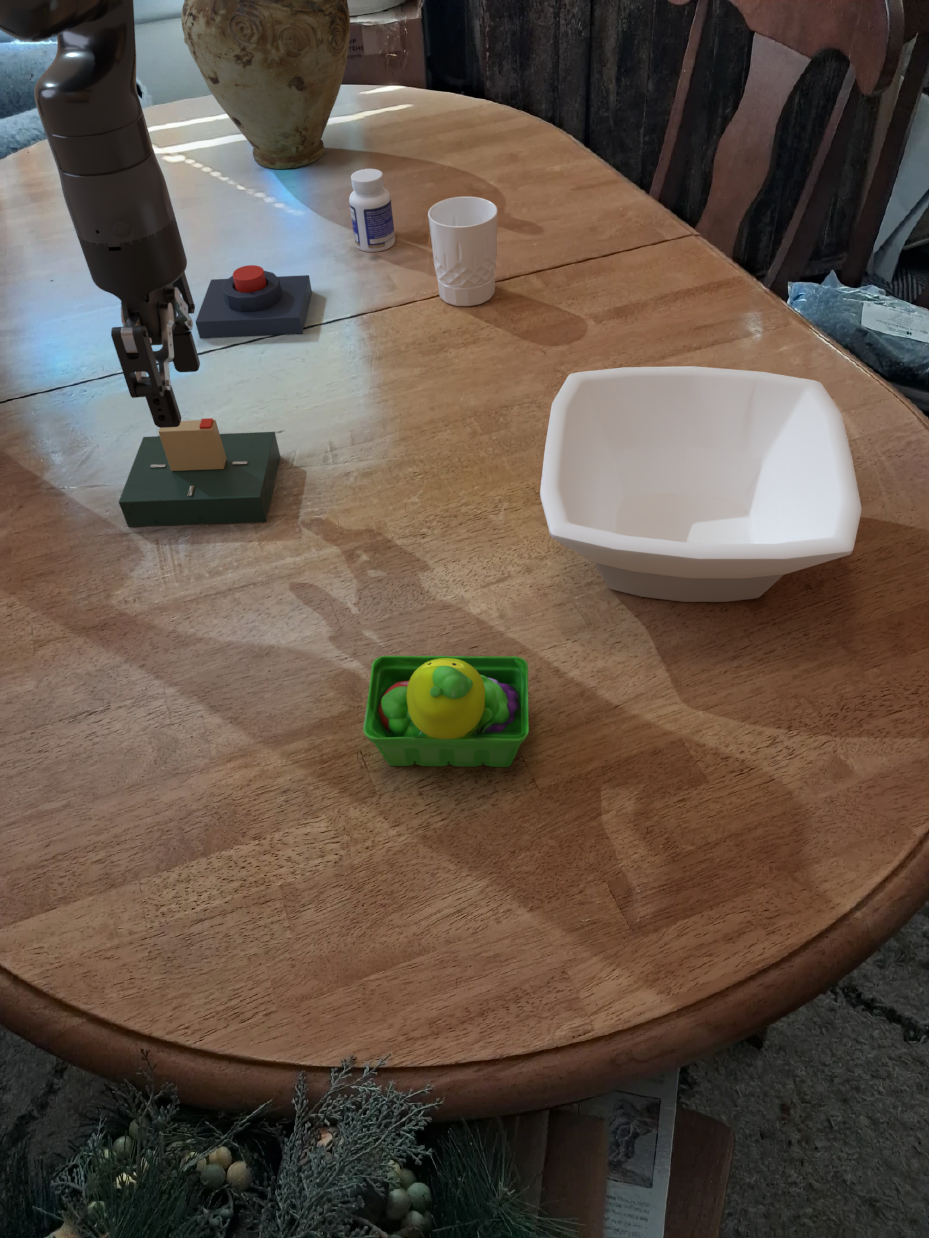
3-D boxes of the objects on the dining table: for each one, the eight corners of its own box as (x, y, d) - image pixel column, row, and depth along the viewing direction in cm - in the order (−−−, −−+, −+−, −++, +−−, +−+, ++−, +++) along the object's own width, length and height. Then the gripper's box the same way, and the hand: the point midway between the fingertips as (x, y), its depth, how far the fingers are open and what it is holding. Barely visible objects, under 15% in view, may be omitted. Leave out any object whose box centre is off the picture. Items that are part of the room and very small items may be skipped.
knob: (171, 471, 93) (157, 429, 89) (174, 461, 94) (161, 419, 90) (223, 469, 92) (212, 427, 89) (226, 459, 94) (215, 417, 90)
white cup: (511, 286, 120) (510, 205, 112) (475, 316, 115) (472, 232, 108) (458, 271, 123) (453, 191, 116) (421, 299, 119) (414, 217, 111)
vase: (273, 200, 137) (217, -59, 118) (190, 172, 151) (126, -64, 132) (402, 153, 148) (369, -92, 128) (312, 131, 162) (271, -93, 142)
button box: (199, 339, 115) (191, 307, 112) (215, 296, 122) (207, 265, 119) (302, 334, 114) (296, 303, 111) (311, 291, 121) (306, 261, 118)
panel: (127, 527, 92) (117, 500, 90) (151, 461, 99) (142, 435, 97) (266, 522, 92) (259, 495, 89) (280, 456, 99) (274, 430, 96)
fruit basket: (528, 698, 76) (528, 594, 68) (528, 796, 70) (528, 695, 61) (380, 698, 76) (362, 595, 68) (368, 795, 70) (347, 695, 62)
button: (233, 295, 114) (230, 280, 113) (238, 279, 117) (235, 265, 115) (264, 293, 114) (261, 279, 113) (268, 278, 117) (265, 264, 115)
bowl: (531, 640, 80) (531, 546, 72) (554, 451, 97) (556, 360, 89) (843, 662, 77) (876, 566, 69) (810, 463, 94) (834, 368, 86)
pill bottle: (402, 238, 130) (395, 169, 124) (383, 256, 127) (375, 186, 120) (367, 232, 132) (358, 164, 125) (347, 249, 129) (338, 180, 122)
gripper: (99, 181, 81) (155, 355, 93) (48, 263, 71) (118, 447, 83) (190, 176, 81) (234, 351, 92) (151, 258, 71) (206, 443, 83)
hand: (179, 396), depth 88 cm, fingers open, 8 cm apart
